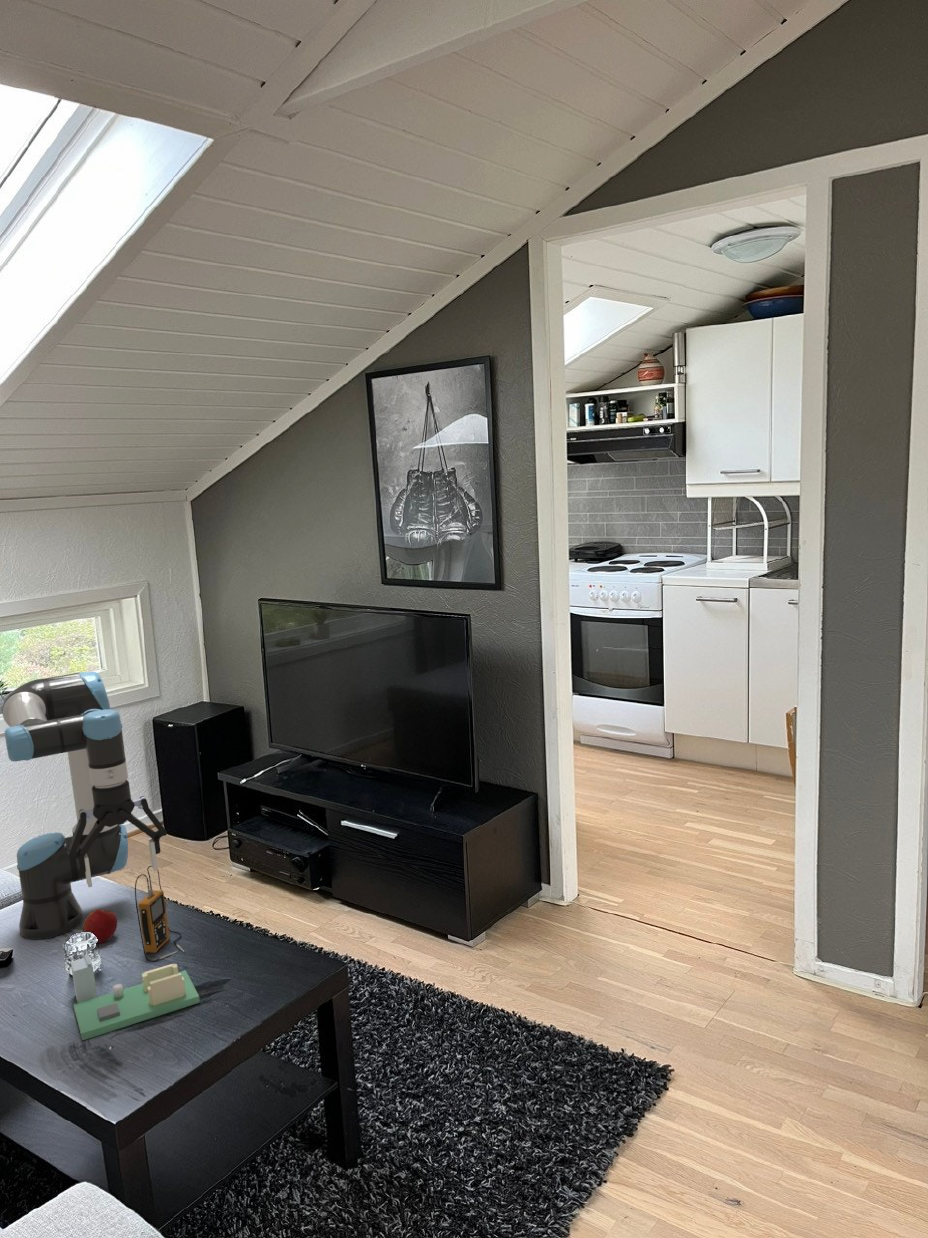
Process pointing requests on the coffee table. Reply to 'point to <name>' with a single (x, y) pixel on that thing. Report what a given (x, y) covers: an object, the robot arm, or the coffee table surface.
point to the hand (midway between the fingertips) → (122, 876)
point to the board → (136, 1002)
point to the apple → (101, 924)
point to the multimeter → (153, 920)
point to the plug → (83, 979)
